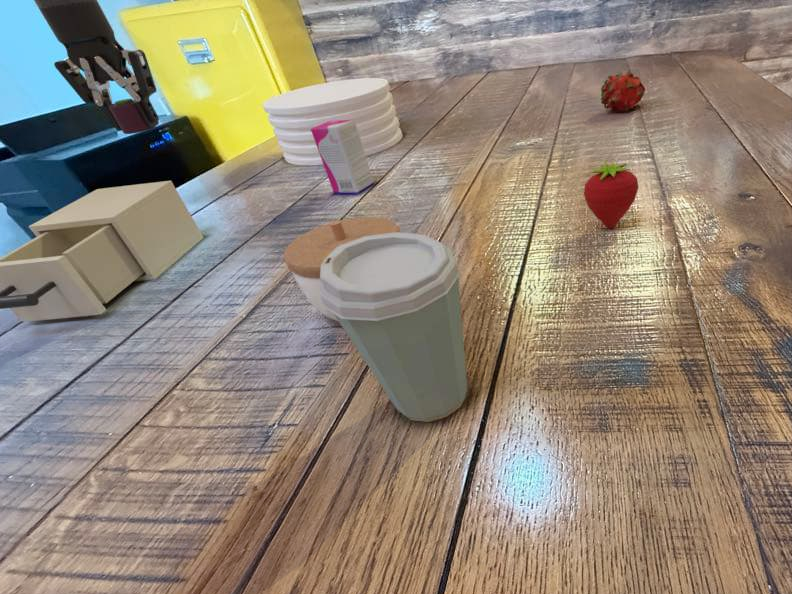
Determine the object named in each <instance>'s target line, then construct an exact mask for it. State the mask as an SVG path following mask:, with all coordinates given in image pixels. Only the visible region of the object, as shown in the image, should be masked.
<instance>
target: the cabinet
mask: <svg viewBox="0 0 792 594" xmlns="http://www.w3.org/2000/svg"><path fill="white" fill-rule="evenodd" d="M109 223H112V225H113V226H114V228H115V229H116V231H117V232H118V234H119V235H120V236H121V238H122V239H123V241H124V242H125V244H126V245H127V247H128V248H129V250H130V251H131V253H132V254H133V255H134V257H135V258H136V260H137V261H138V263H139V264H140V266H141V267H142V269H143V270H144V273H143V274H142V275H141V276H139V277H138V278H137V279H136V280H134V281H133V282H142V281H152V280H156V279H158V277H160V276H161V275H162V274H164V272H166V271H167V270H168V269H169V268H170V267H172V266H173V265H174V264H175V263H176V262H177V261H179V260H180V259H181V258H182V257H183V256H184V255H185V254H186V253H188V252H189V251H190V250H192V249H193V247H195V246H196V245H197V244H198V243H199V242H200V241H202V240H203V239H204V235H203V234H202V232H201V230H200V228H199V227H198V225H197V224H196V222H195V219H194V218H193V216H192V214H191V213H190V211H189V210H188V208H187V206H186V205H185V202H184V201H183V199H182V197H181V195H180V193H179V192H178V190H177V188H176V186H175V185H174V183H173V181H172V180H164V181H155V182H147V183H137V184H131V185H130V184H129V185H121V186H112V187H104V188H103V187H102V188H97V189H95V190H93V191H91V192H89V193H87V194H86V195H84V196H82V197H80V198H78V199H76V200H75V201H72V202H70V203H69V204H67V205H65V206H63V207H62V208H59V209H58V210H56V211H54V212H52V213H50V214H48V215H46V216H45V217H43V218H41V219H39V220H38V221H35V222H33V223H32V224H29V226H28V228H29V229H30V231H31V232H33V234H34V235H35V238H36V237H37V236H39V235H41V234H43V233H44V232H46V231H48V230H55V229H64V228H73V227H82V226H91V225H100V224H109Z"/></svg>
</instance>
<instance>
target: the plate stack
mask: <svg viewBox="0 0 792 594" xmlns="http://www.w3.org/2000/svg"><path fill="white" fill-rule="evenodd" d="M390 89H391V85H390V83H389V80H388V79H387V78H386V79H385V78H382V77H361V78H351V79H350V78H349V79H341V80H335V81H329V82H328V81H327V82H324V83H318V84H313V85H308V86H304V87H301V88H297V89H296V88H295V89H292V90H288V91H286V92H283V93H280V94H277V95H274V96H272V97H270V98H268V99H266V100H265V101H263V102H262V107H263V110H264V112H265V113H266V114H268V116H267V119H268V122H269V124H270V126H272V127H273V129H272V132H273V134H274V136H275V138H276V139H278V140H277V143H278V146H279V148H280V150H281V151H283V152H282V156H283V158H284V161H285V162H286V163H288V164H290V165H294V166H295V165H296V166H324V164H323V162H322V159H321V156H320V153H319V151H318V148H317V145H316V142H315V140H314V137H313V134H312V131H311V128H314V127H316V126H319V125H321V124H324V123H326V122H328V121H338V120H355V123H356V126H357V129H358V132H359V136H360V139H361V142H362V145H363V148H364V152H365V155H366V157H367V156H368V157H369V156H371V155H374V154H377V153H380V152H382V151H385V150H387V149H389V148H391V147H393V146H395V145H396V144H398V143H399V142H400V141H401V140H402V139H403V132H402V129H401V128H400V121H399V117H398V116H396V115H397V109H396V106H395V105H394V104H393V102H394V98H393V94H392V92H391V91H389V90H390Z"/></svg>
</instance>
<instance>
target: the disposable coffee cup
mask: <svg viewBox="0 0 792 594" xmlns="http://www.w3.org/2000/svg"><path fill="white" fill-rule="evenodd" d="M460 276H461V271H460V269H459V265H458V263H457V260H456V258H455V257H454V254H453V251H452V249H451V248H450V247H449V246H447V245H444V243H443V242H441V241H439V240H436V239H434V238H432V237H430V236H428V235H425V234H422V233H421V234H420V233H409V232H400V233H398V232H394V233H386V234H379V235H371V236H365V237H362V238H359V239H356V240H354V241H351V242H348V243H345V244H343V245H340V246H338V247H337V248H335V249H334V250H333V251H332V252H331V253H330V254H329V255H328V256H327V257H326V258H325V259H324V261H323V263H322V264H321V269H320V279H321V295H320V296H321V299H322V301H323V307H324V308H326V309H328V310H329V311H331V312H332V313H333V314H334V315H335V317H336V318H337V320H338V321H337V322H338V323H339V324H340V326H341V327H342V329H343V331H344V333H346V335H347V336H348V338H349V340H350V341H351V342H352V344H353V345H354V347H355V349H356V350H357V352H358V353H359V355H360V356H361V358H362V359H363V361H364V362H365V364H366V365H367V367H368V368H369V370H370V371H371V373H372V374H373V376H374V377H375V378H376V380H377V382H378V383H379V385H380V387H381V388H382V390H383V391H384V392H385V394H386V395H387V397H388V398H389V400H390V401H391V403H392V404H393V406H394V407H395V409H396V410H397V411H398V412H399V413H401V414H402V415H403V416H404V417H406V418H407V419H409V420H411V421H413V422H414V421H415V422H423V423H431V422H435V421H438V420H441V419H445V418H448V417H449V416H451V415H452V414H453V413H455V412H456V411H457V410H458V409H460V408H461V406H462V405H463V402H464V401H465V399H466V396H467V392H468V391H469V387H468V377H467V366H466V355H465V342H464V329H463V318H462V307H461V294H460V282H459V277H460Z"/></svg>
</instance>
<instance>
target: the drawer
mask: <svg viewBox="0 0 792 594" xmlns="http://www.w3.org/2000/svg"><path fill="white" fill-rule="evenodd" d="M143 273H144V270H143V269H142V267H141V266H140V264H139V263H138V261H137V260H136V258H135V257H134V255H133V254H132V253H131V251H130V250H129V248H128V247H127V245H126V244H125V242H124V241H123V239H122V238H121V236H120V235H119V234H118V232H117V231H116V229H115V228H114V226H113V225H112V223H109V224H100V225H91V226H82V227H73V228H64V229H55V230H48V231H46V232H44V233H43V234H41V235H39V236H37V237H36V236H35V237H34V238H32V239H30V240H29V241H26V242H25V243H23V244H21V245H20V246H18V247H17V248H15V249H13V250H11V251H9V252H8V253H6V254H4V255H2V256H1V257H0V310H2V309H3V310H5V309H9V310H10V311H11V312H12V314H14V315H15V316H16V318H18V319H19V320H20V321H21V323H27V322H36V321H38V322H39V321H49V320H57V319H69V318H79V317H89V316H90V317H91V316H100V315H102V314H103V313H104V312H106V311H107V308H106V307H105V306H104V305H103V304H108V303H109V302H111V300H112V299H114V298H115V297H116V296H117V295H119V294H120V293H121V292H122V291H123V290H124V289H126V288H127V287H128V286H130V285H131V284H132V283H133V282H135V281H134V280H136V279H137V278H138V277H139V276H141V275H142V274H143Z"/></svg>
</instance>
